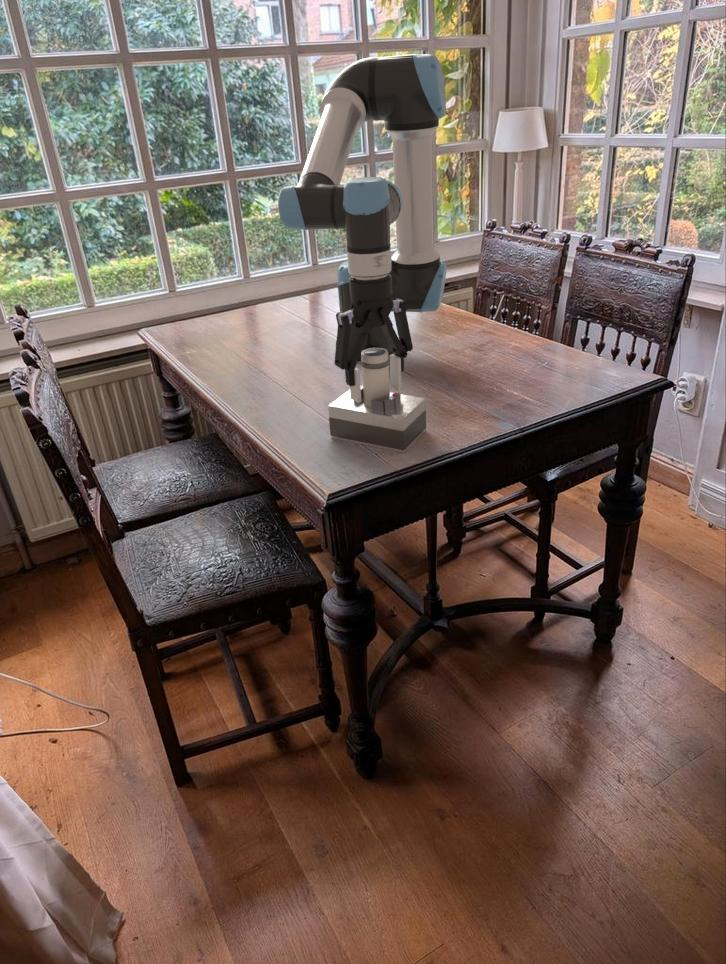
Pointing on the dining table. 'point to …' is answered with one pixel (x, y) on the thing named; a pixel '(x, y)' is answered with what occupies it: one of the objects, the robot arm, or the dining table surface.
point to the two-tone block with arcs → (378, 420)
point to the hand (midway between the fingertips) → (376, 394)
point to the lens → (375, 374)
